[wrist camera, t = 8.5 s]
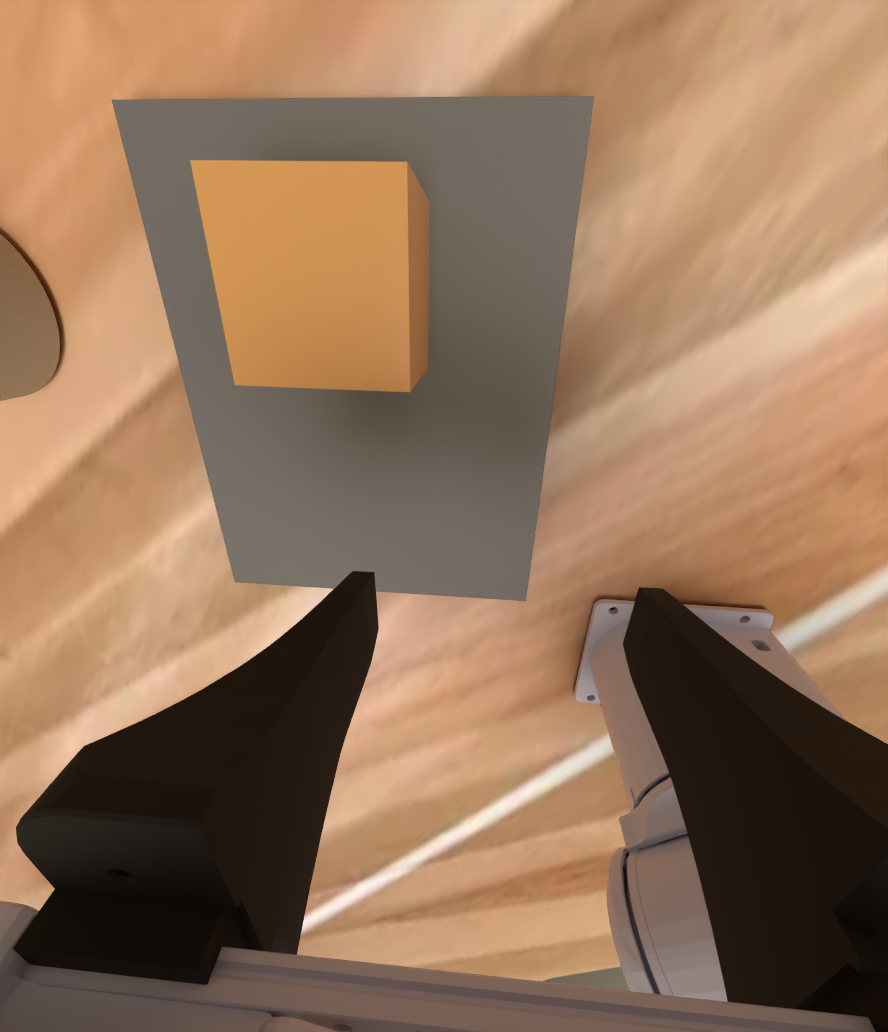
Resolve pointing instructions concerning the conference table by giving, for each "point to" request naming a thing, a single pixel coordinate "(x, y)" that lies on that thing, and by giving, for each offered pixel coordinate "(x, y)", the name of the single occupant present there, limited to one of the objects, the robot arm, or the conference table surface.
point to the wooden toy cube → (319, 271)
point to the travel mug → (24, 328)
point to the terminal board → (452, 341)
